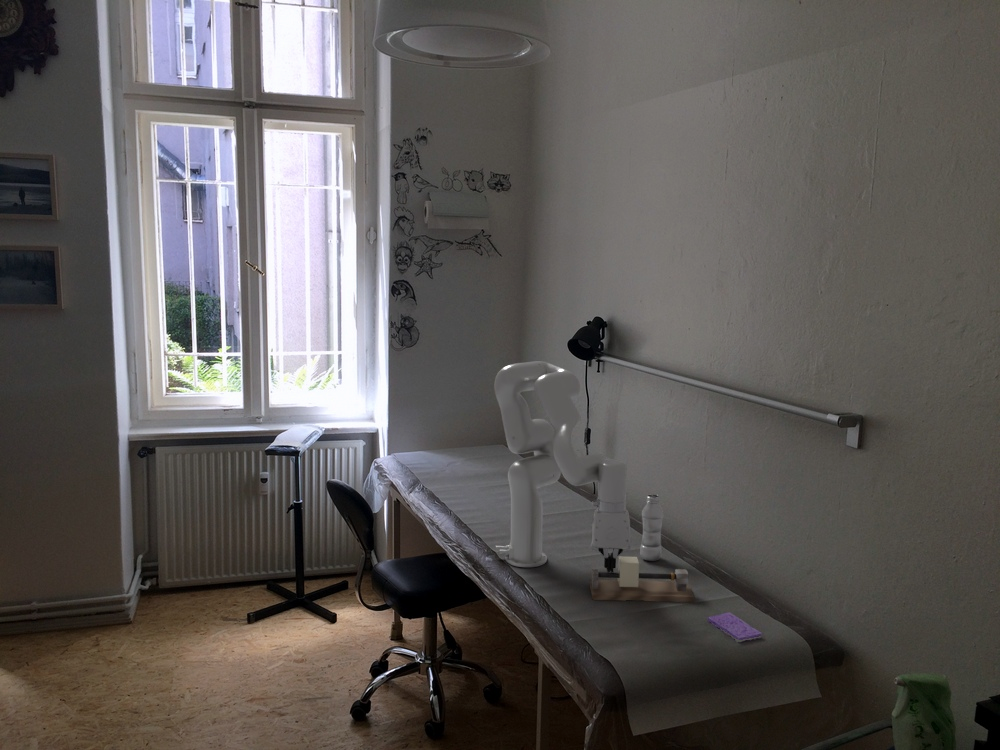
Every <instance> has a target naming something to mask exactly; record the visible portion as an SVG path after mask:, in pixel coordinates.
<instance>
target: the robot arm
mask: <svg viewBox="0 0 1000 750" xmlns="http://www.w3.org/2000/svg"><path fill="white" fill-rule="evenodd" d="M493 387H494V393H495V398H496V401H497V403H498V407H499V409H500V413H501V420H502V424H503V430H504V435H505V439H506V444H507V447H508V448H507V449H508V451H510V452H511V453H512V454H515V455H523V454H528V453H529V454H530V453H532V452H533V456H528V457H524V458H520V459H517V460H515V461H514V462H513V463H512V464H511V465H510V467H508V469H507V470H508V471H507V479H508V485H509V492H510V542H509V544H506V545H495V552H496V553H499V555H505V556H504V557H505V562H506V563H508V564H509V565H511V566H514V567H518V568H535V567H540V566H543V565H545V563H547V562H548V560H547V559H548V556H547V555H546V553H545V552H543V519H544V518H543V512H544V511H543V499H542V497H541V496H540V493H539V491H538V489H540V488H542V487H545V486H549V485H552V484H555V483H556V482H558V481H559V480H560V477H561V475H562V477H564V479H565V480H566V482H568V483H569V484H570V485H572V486H575V487H579V486H584V485H588V484H591V483H596V482H597V484H598V485H597V499H596V500H592V501H591V502H592V507H596V508H595V510H594V514H593V518H592V531H591V544H590V549H591V550H592V551H596V552H599V553H600V554H601V555H602V556H604V565H603V567H604V569H606V571H607V572H614V569H616V567H617V558H618V557H619V556H620V555H621V554H622V553H623V552H629V551H631V520H630V514H629V511H628V509H627V508H626V507H627V506H626V505H627V483H628V482H627V481H628V480H627V473H628V466H627V463H626V462H625V461H623V460H620V459H612V458H610V457H609V456H606V455H604V454H602V453H599V452H598V453H595V452H594V453H590V454H587V455H586V454H585V455H582V456H579V457H578V456H577V454H576V451H575V450H574V447H573V444H572V434H573V430H574V429H575V428H576V427H577V426H578V425H579V424H580V422H581V420H582V415H581V414H580V412H579V411H578V408H577V406H576V404H575V402H574V401H573V399H576V398H577V397H578V395H579V394H580V391H581V384H580V380H579V378H578V377H577V375H575V374H574V373H573V372H572V371H570V370H568V369H566V368H563V367H561V366H560V367H559V366H557V365H555V364H552V363H550V362H548V361H543V360H542V361H541V360H537V361H527V362H517V363H512V364H508V365H506V366H504V367H502V368H501V369H500V370H499V371H498V372H497V374H496V376H495V378H494V385H493ZM529 391H534V392H535V395H536V397H537V399H538V401H539V403H540V405H541V407H542V409H543V411H544V413H545V415H546V418H547V419H548V421H549V422H548V421H547V420H546V419H544V418H534V419H532V417H531V416H532V415H531V412H530V407H529V404H528V403H527V400H526V399H525V397H524V396H522V394H521V393H522V392H529ZM609 549H611V553H609Z"/></svg>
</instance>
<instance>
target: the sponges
mask: <svg viewBox="0 0 1000 750" xmlns="http://www.w3.org/2000/svg"><path fill="white" fill-rule="evenodd" d="M707 620H708V621H709V622H708V621H707V622H708V623H710V622H711V623H713V624H714V625H716V626H717V627H719V628H721V629H722V630H724V631H725V632H727V633H729V634H730V635H732V636H733V637H734V638H736V639H738V640H743V639H749V638H754V637H759V636H761V637H762V632H761V631H759V630H757V629H756V628H754V627H752V626H751V625H750V624H748V623H747V622H745V621H743V619H741V618H739V617H738V616H736V615H734V614H733V613H731V612H730V611H729V612H725V613H720V614H718V615H712V616H707ZM711 623H710V624H711ZM714 625H713V626H714ZM717 627H716V628H717Z"/></svg>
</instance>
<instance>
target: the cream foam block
mask: <svg viewBox="0 0 1000 750" xmlns="http://www.w3.org/2000/svg"><path fill="white" fill-rule="evenodd" d="M617 561H618V563H617V573H620V578H617V580H618V582H619V586H620V587H638V581H639V580H640V578H639V573H640V563H639V560H638V557H637V556H620V555H618V560H617Z"/></svg>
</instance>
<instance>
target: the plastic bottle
mask: <svg viewBox="0 0 1000 750" xmlns="http://www.w3.org/2000/svg"><path fill="white" fill-rule="evenodd" d="M660 503H661V502H660V495H658V494H647V495H646V504H645V506H644V507H643V508H642V511H641V520H642V536H641V537H642V538H641V544H640V547H639V553H640V557H641V558H642V559H643V560H645V561H649V562H656V561H659V560H660V558H661V557H662V553H663V548H662V535H661V534H662V524H663V522H664V521H663V520H664V510H663V508H662V506H661V505H660Z"/></svg>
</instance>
